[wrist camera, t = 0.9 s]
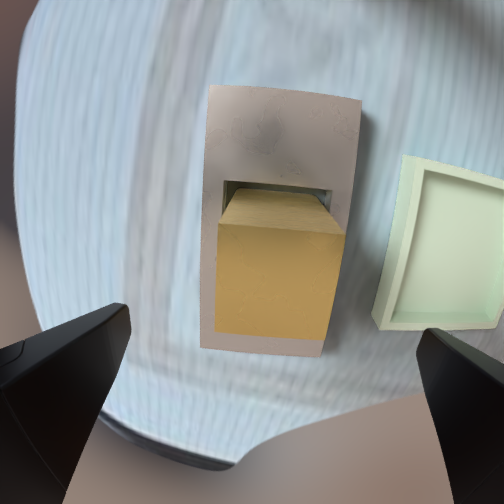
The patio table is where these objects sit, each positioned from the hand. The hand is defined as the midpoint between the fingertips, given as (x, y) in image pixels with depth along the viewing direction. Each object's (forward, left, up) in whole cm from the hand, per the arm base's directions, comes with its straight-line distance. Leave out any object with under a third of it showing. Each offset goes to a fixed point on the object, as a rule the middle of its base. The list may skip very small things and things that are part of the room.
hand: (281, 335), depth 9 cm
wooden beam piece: (0, 0, -11) cm, 11 cm away
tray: (-13, 0, -11) cm, 17 cm away
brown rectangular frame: (0, 0, -11) cm, 11 cm away
